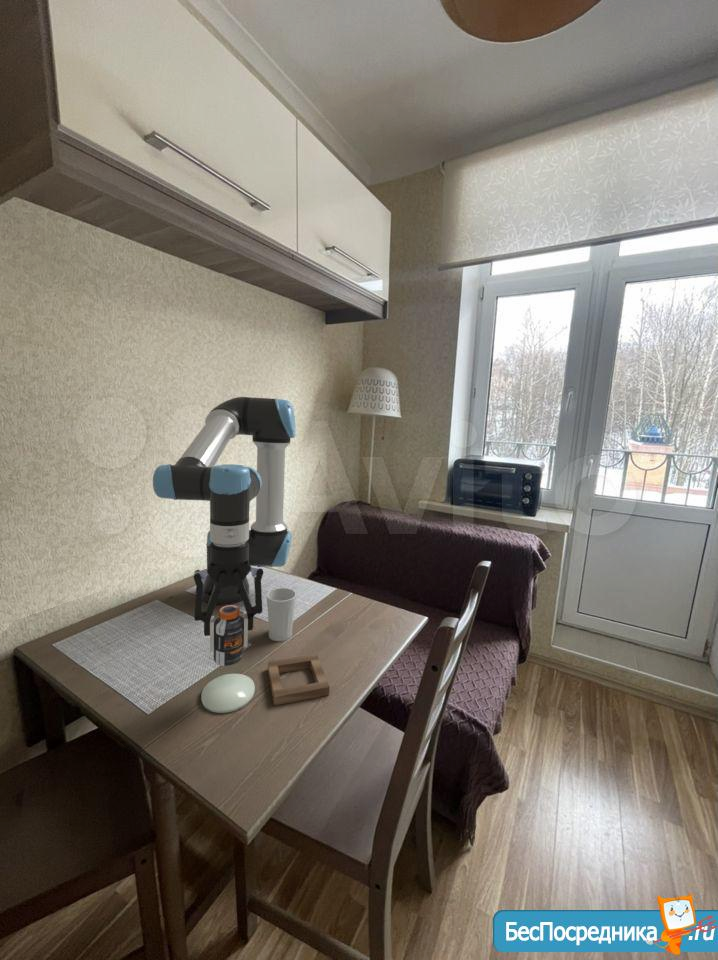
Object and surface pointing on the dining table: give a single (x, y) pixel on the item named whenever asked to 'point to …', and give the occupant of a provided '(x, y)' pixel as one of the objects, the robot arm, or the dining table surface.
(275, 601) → the cup
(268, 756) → the dining table surface
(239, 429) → the robot arm
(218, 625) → the pill bottle
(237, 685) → the pale green rounded part
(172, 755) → the dining table surface
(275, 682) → the open wooden frame
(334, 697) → the dining table surface
